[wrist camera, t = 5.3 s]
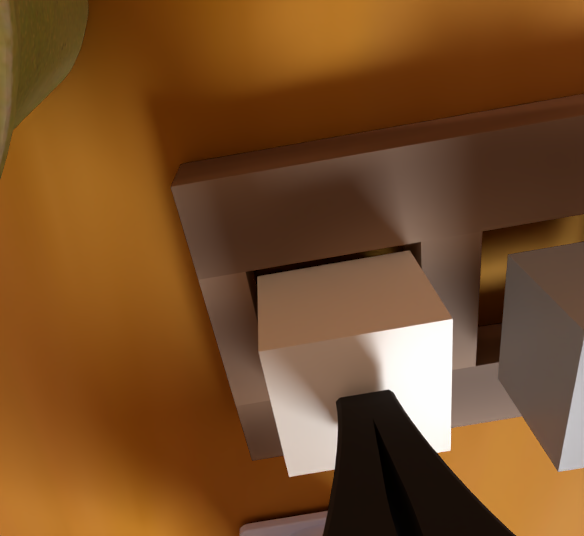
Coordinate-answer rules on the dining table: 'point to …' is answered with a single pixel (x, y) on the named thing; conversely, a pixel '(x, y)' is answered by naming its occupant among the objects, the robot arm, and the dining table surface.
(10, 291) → the dining table surface
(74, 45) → the plant pot
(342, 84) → the dining table surface
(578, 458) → the slate key
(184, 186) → the brown flat board
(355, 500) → the robot arm
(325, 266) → the ivory key
